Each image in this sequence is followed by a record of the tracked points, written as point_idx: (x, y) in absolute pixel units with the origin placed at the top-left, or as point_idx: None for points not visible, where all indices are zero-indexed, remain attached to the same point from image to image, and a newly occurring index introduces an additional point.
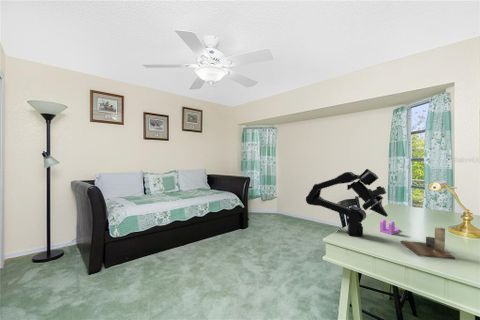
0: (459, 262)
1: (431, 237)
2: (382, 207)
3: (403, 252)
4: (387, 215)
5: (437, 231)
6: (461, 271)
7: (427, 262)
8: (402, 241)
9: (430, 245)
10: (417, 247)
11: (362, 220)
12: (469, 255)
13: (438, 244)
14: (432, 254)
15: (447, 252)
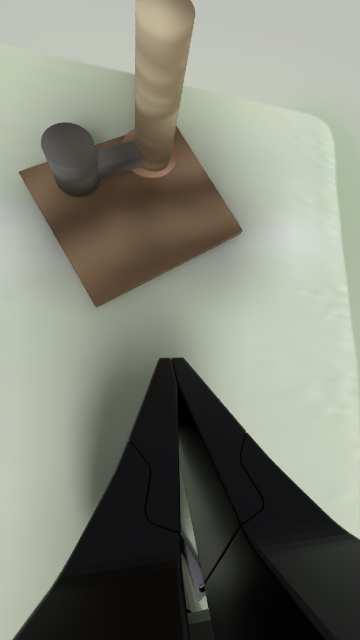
0: (195, 121)
1: (50, 140)
2: (174, 476)
3: (247, 282)
4: (183, 358)
5: (188, 50)
6: (279, 132)
7: (285, 209)
8: (102, 295)
9: (99, 177)
10: (154, 231)
11: (188, 613)
12: (71, 74)
13: (174, 128)
14: (205, 184)
15: (134, 132)
